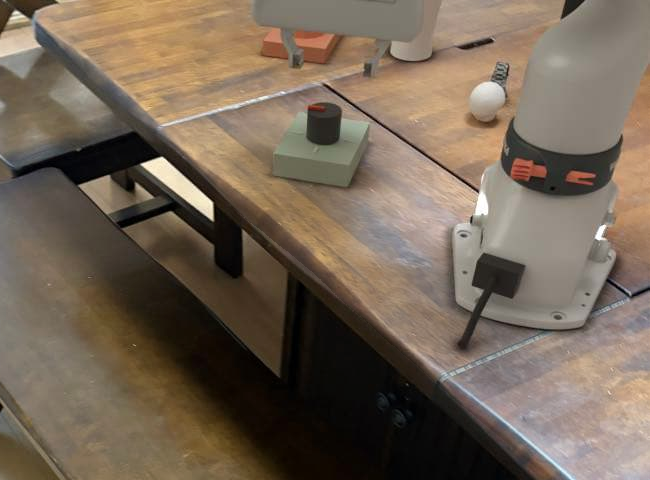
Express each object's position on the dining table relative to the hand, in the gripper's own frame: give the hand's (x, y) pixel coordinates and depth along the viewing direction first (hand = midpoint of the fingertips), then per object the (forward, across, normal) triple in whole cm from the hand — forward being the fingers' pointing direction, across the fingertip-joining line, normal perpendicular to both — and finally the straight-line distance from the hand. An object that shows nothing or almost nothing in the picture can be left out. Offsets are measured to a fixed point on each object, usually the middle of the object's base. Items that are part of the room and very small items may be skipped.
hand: (332, 71), depth 107 cm
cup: (+10, -3, -38) cm, 39 cm away
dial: (+8, +1, 0) cm, 8 cm away
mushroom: (+11, -18, -19) cm, 28 cm away
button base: (+10, +14, -35) cm, 39 cm away
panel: (+11, +1, 0) cm, 11 cm away
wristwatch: (+11, -19, -26) cm, 34 cm away
